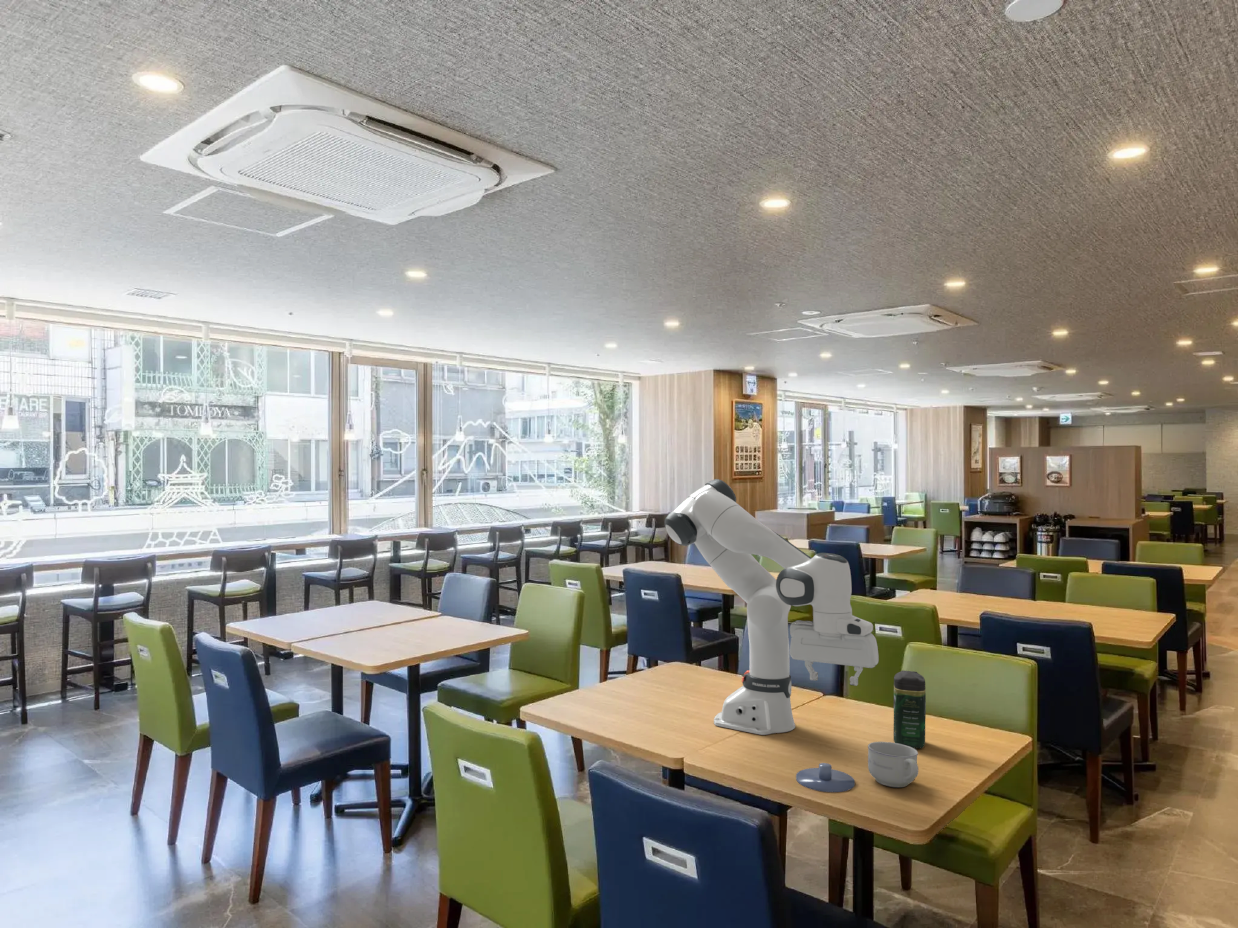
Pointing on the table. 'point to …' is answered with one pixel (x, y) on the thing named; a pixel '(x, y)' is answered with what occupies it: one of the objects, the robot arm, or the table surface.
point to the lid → (825, 779)
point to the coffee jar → (909, 709)
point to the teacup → (892, 763)
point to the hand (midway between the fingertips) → (833, 682)
